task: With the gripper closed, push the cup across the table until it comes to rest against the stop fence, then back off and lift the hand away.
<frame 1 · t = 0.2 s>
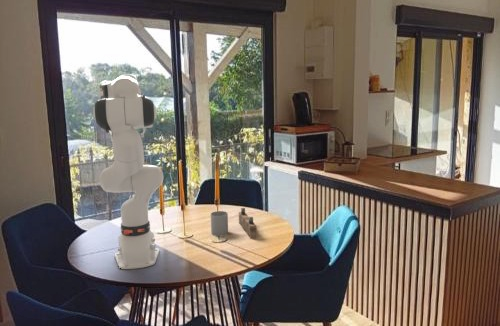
hand: (132, 137, 194), 48 cm above the table, fingers open, 8 cm apart
cup: (219, 233, 198), on the table
stop fence: (247, 230, 201), on the table
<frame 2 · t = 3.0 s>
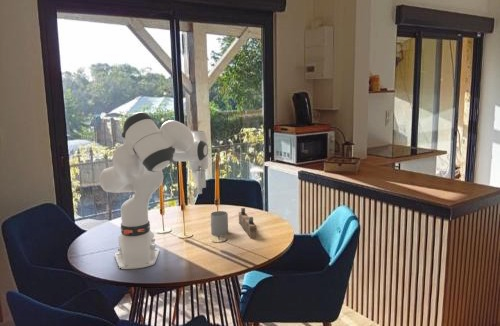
hand: (199, 193, 192), 21 cm above the table, fingers closed
nothing on the table moved.
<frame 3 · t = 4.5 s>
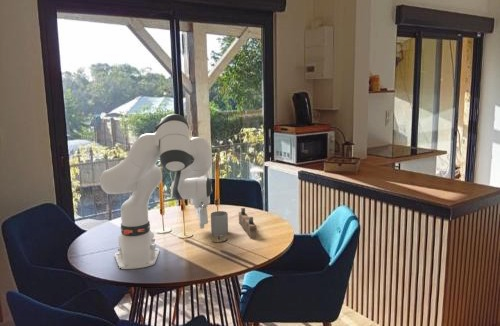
hand: (201, 227, 194), 4 cm above the table, fingers closed
nothing on the table moved.
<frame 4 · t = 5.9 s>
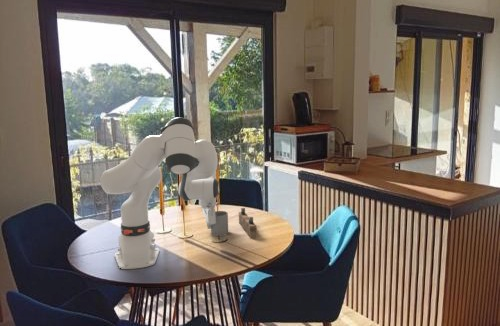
hand: (209, 228, 196), 3 cm above the table, fingers closed, pressing on cup
cup: (219, 233, 198), on the table, touching gripper
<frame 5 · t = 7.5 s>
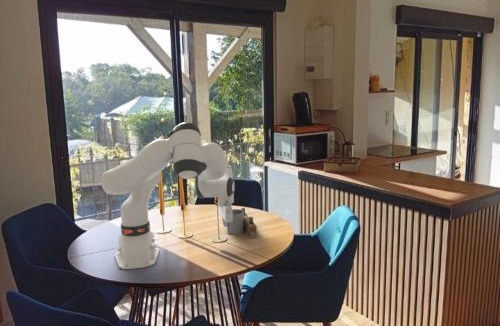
hand: (225, 225, 198), 3 cm above the table, fingers closed, pressing on cup
cup: (235, 231, 200), on the table, touching gripper
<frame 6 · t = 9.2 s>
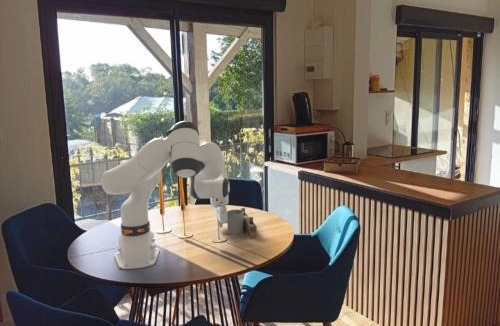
hand: (220, 226, 197), 3 cm above the table, fingers closed
cup: (236, 231, 200), on the table
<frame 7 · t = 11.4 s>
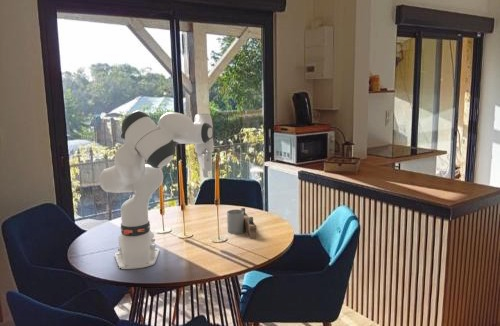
hand: (205, 176, 191), 29 cm above the table, fingers closed
nothing on the table moved.
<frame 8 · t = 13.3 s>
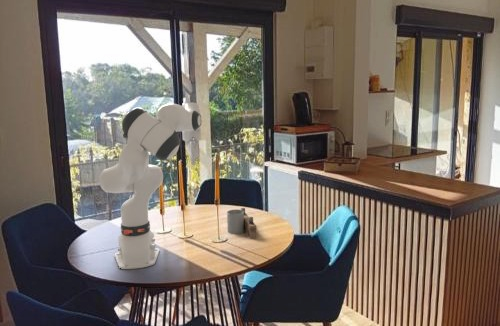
hand: (193, 164, 194), 34 cm above the table, fingers closed
nothing on the table moved.
at the end: cup inside the target area (0.5 cm from its centre), on the table; cup 5.7 cm from the stop fence (horizontally); cup tilted 0° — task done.
